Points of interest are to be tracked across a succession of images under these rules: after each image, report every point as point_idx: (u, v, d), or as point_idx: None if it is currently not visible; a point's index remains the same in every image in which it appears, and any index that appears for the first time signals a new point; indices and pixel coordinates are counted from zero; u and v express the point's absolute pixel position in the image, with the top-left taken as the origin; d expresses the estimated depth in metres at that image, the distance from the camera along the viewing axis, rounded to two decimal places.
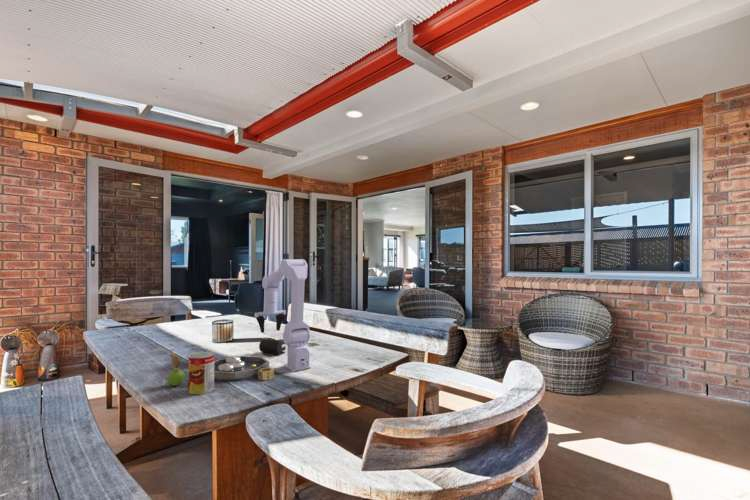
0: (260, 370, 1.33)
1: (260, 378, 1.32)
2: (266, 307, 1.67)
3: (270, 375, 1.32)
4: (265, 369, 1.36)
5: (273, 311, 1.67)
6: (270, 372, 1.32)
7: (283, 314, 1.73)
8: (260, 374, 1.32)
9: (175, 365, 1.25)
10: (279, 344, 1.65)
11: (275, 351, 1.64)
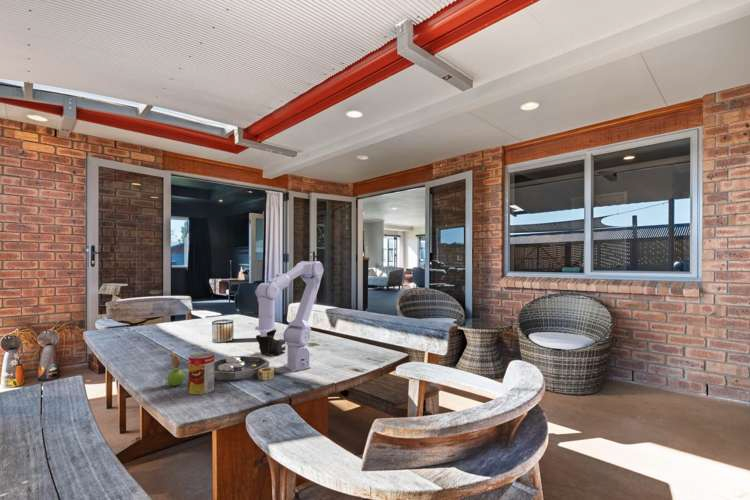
0: (260, 370, 1.33)
1: (260, 378, 1.32)
2: (269, 321, 1.32)
3: (270, 375, 1.32)
4: (265, 369, 1.36)
5: (274, 326, 1.35)
6: (270, 372, 1.32)
7: None
8: (260, 374, 1.32)
9: (175, 365, 1.25)
10: (279, 344, 1.64)
11: (275, 351, 1.64)
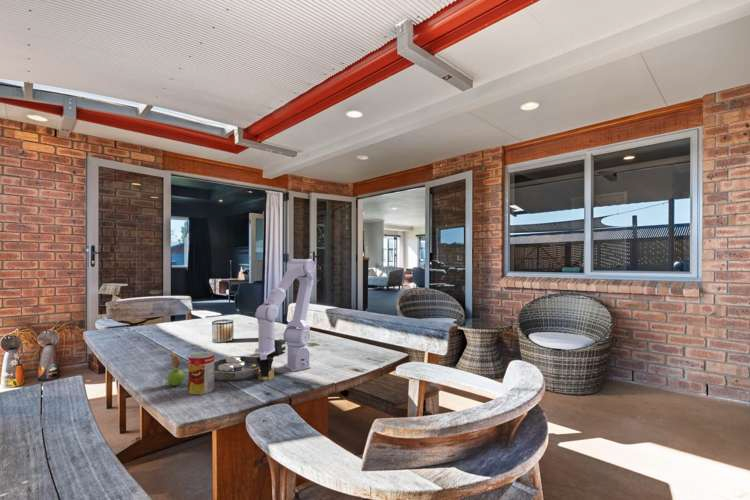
0: None
1: (260, 378, 1.32)
2: (269, 344, 1.32)
3: (270, 375, 1.32)
4: None
5: None
6: (270, 372, 1.32)
7: None
8: (260, 374, 1.32)
9: (175, 365, 1.25)
10: (279, 344, 1.65)
11: None
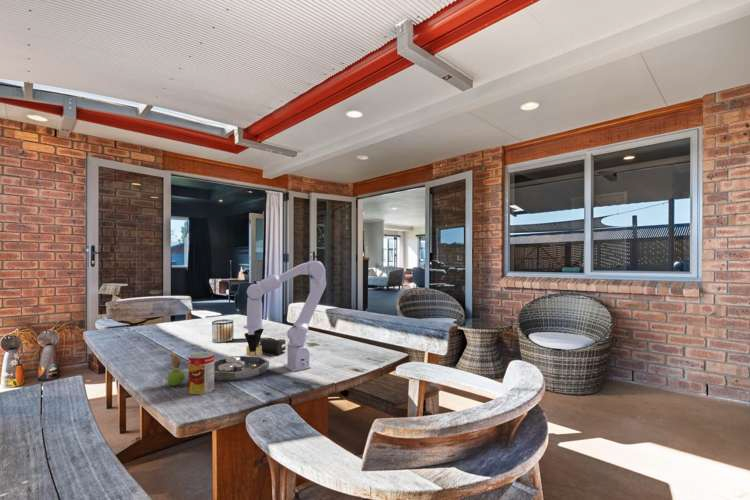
0: (248, 346, 1.41)
1: (248, 353, 1.40)
2: (257, 320, 1.40)
3: (257, 351, 1.40)
4: None
5: None
6: (257, 348, 1.40)
7: None
8: (248, 350, 1.40)
9: (175, 365, 1.25)
10: (279, 344, 1.65)
11: (275, 351, 1.64)
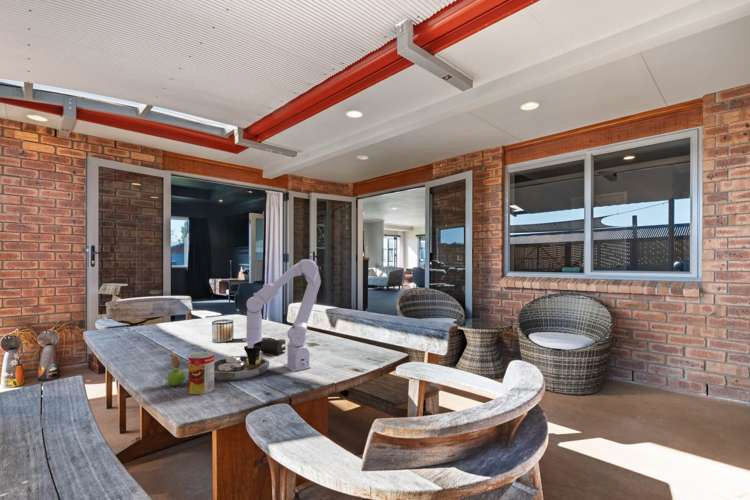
0: None
1: (247, 366, 1.40)
2: (256, 333, 1.40)
3: (257, 364, 1.40)
4: None
5: (261, 337, 1.43)
6: (257, 361, 1.41)
7: None
8: (247, 362, 1.40)
9: (175, 365, 1.25)
10: (279, 344, 1.65)
11: (275, 351, 1.64)
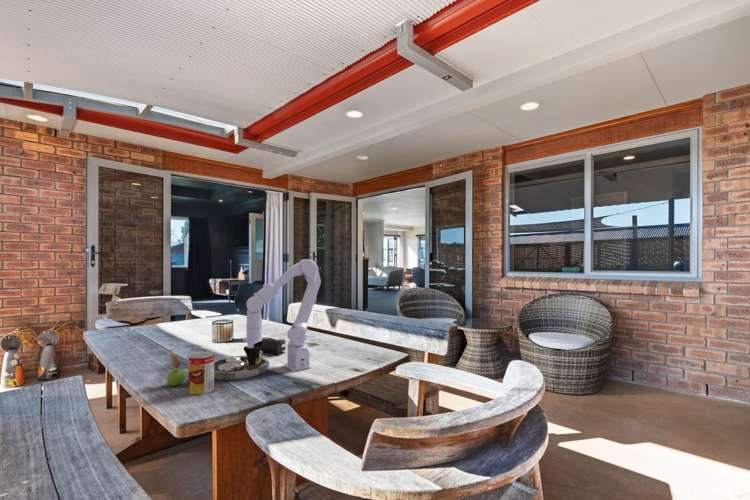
0: None
1: (247, 368, 1.40)
2: (256, 333, 1.40)
3: (257, 366, 1.41)
4: None
5: (261, 337, 1.43)
6: (257, 363, 1.41)
7: None
8: (247, 364, 1.40)
9: (175, 365, 1.25)
10: (279, 344, 1.65)
11: (275, 351, 1.64)
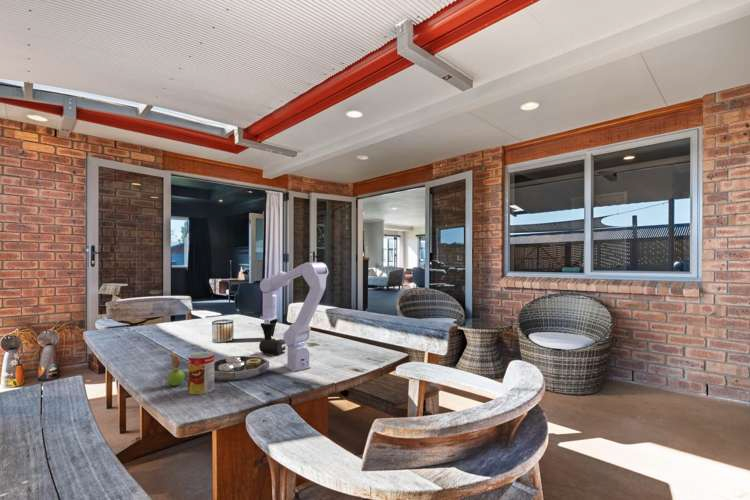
0: (248, 361, 1.42)
1: (247, 368, 1.40)
2: (272, 311, 1.54)
3: (257, 366, 1.41)
4: (253, 360, 1.44)
5: None
6: (257, 363, 1.41)
7: (273, 318, 1.62)
8: (247, 364, 1.40)
9: (175, 365, 1.25)
10: (279, 344, 1.64)
11: (275, 351, 1.64)
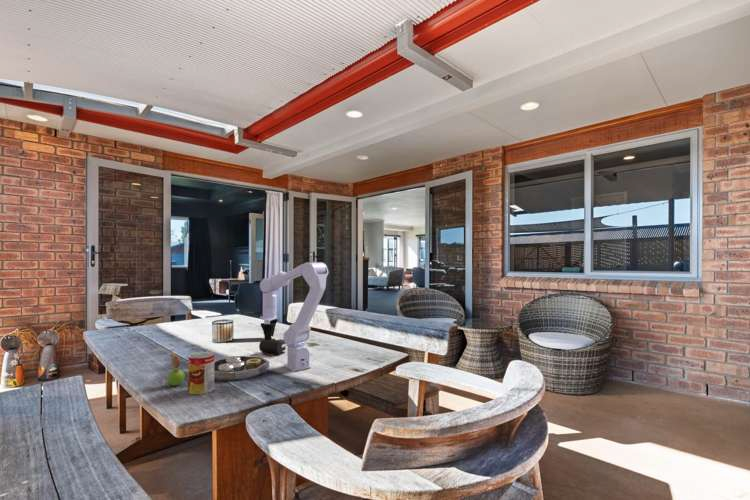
0: (248, 361, 1.42)
1: (247, 368, 1.40)
2: (272, 311, 1.54)
3: (257, 366, 1.41)
4: (253, 360, 1.44)
5: None
6: (257, 363, 1.41)
7: (273, 318, 1.62)
8: (247, 364, 1.40)
9: (175, 365, 1.25)
10: (279, 344, 1.64)
11: (275, 351, 1.64)
